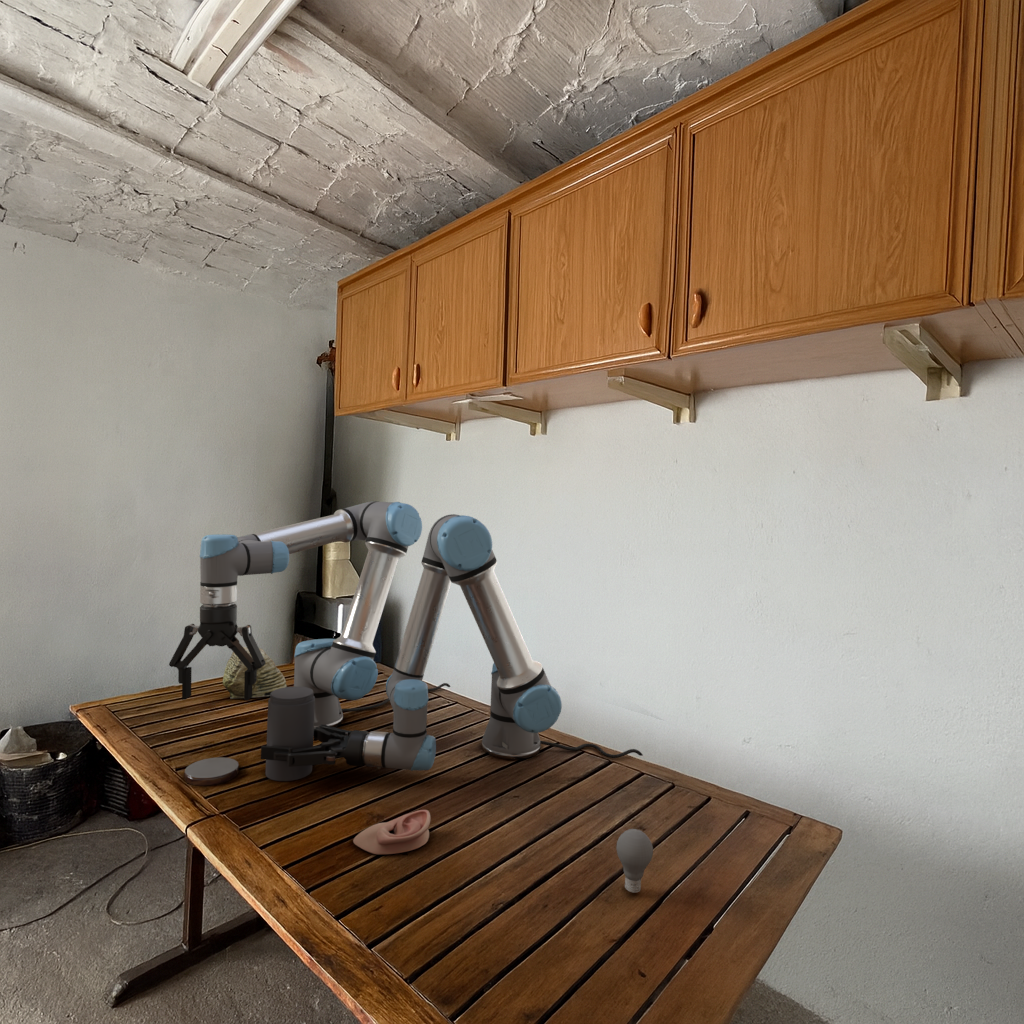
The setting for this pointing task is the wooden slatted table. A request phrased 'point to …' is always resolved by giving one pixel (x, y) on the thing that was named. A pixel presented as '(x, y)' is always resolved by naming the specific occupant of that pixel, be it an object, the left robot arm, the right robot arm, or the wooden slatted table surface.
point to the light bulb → (634, 857)
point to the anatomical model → (396, 834)
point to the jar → (290, 729)
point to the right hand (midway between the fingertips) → (274, 741)
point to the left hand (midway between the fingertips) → (217, 698)
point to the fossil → (266, 677)
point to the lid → (211, 771)
